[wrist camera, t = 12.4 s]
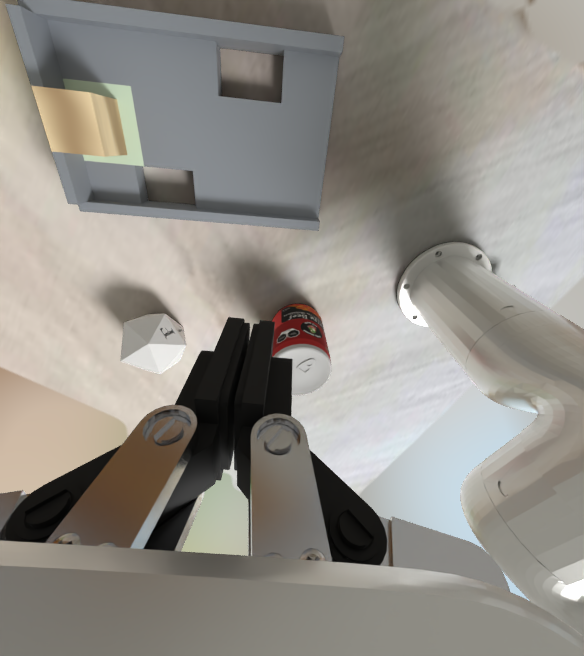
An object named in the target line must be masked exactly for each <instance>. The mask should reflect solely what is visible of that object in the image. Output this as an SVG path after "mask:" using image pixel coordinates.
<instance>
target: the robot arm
mask: <svg viewBox="0 0 584 656" xmlns="http://www.w3.org/2000/svg"><path fill="white" fill-rule="evenodd" d="M436 252H437V253H436ZM397 301H398V304H399V307H400V309H401V310H402V312H403V313H404V315H405V316H406V317H407V318H408V319H409V320H410V321H412V322H414V323H416V324H418V325H422V326H427V327H429V328H430V329H431V331H432V332H433V333H434V334H435V336H436V337H437V338H438V340H439V341H440V342H441V343H442V345H443V346H444V347H445V348H446V350H447V351H448V352H449V353H450V355H451V356H452V357H453V358H454V360H455V361H456V362H457V363H458V365H459V366H460V367H461V368H462V370H463V371H464V372H465V373H466V375H467V376H468V377H469V378H470V380H471V381H472V382H473V383H474V385H475V386H476V387H477V388H478V389H479V390H480V391H481V392H482V393H483V394H484V395H485V396H487V397H488V398H490V399H491V400H493V401H495V402H496V403H498V404H501V405H504V406H506V407H509V408H513V409H517V410H520V411H525V412H530V413H537V414H538V415H537V418H536V419H535V420H534V421H533V422H532V423H531V424H530V425H529V426H527V427H526V428H525V429H524V430H523V431H522V432H521V433H520V434H519V435H517V436H516V437H515V438H513V439H512V440H510V441H509V442H508V443H506V444H505V445H504V446H503V447H501V448H500V449H499V450H497V451H496V452H495V453H493V454H492V455H490V456H489V457H488V458H486V459H485V460H484V461H483V462H482V463H480V464H479V465H478V466H477V467H475V468H474V469H473V470H472V471H471V472H470V473H469V474H468V475H467V477H466V478H465V480H464V481H463V484H462V487H461V495H460V498H461V504H462V509H463V512H464V514H465V517H466V519H467V521H468V524H469V525H470V527H471V529H472V531H473V533H474V534H475V536H476V538H477V539H478V541H479V542H480V544H481V545H482V546H483V548H484V549H485V550H486V552H485V551H484V550H483V549H482V548H481V547H479V546H477V545H475V544H473V543H471V542H469V541H466V540H463V539H460V538H456V537H453V536H450V535H447V534H444V533H441V532H438V531H435V530H432V529H429V528H426V527H422V526H419V525H416V524H413V523H410V522H407V521H404V520H401V519H397V518H395V517H391V518H390V520H388V519H385V518H382V517H379V516H378V515H377V514H376V513H375V512H374V510H373V509H372V508H371V507H370V506H369V505H368V504H367V503H366V502H365V501H364V500H362V499H361V498H360V497H359V496H358V495H357V494H356V493H355V492H354V491H353V490H352V489H351V488H350V487H349V486H348V485H347V484H346V483H344V482H343V481H342V480H341V479H340V478H339V477H338V476H337V475H336V474H335V473H334V472H333V471H332V470H331V469H330V468H329V467H327V466H326V465H325V464H324V463H323V462H322V461H321V460H320V459H319V458H318V457H317V456H316V455H315V454H314V453H313V452H312V451H310V450H309V445H308V440H307V435H306V432H305V430H304V427H303V426H302V425H301V424H300V422H299V421H297V420H296V419H295V418H293V417H291V403H292V359H289V358H278V357H272V353H273V341H274V329H275V322H272V321H262V320H260V323H259V324H254V325H253V329H252V333H251V337H250V341H249V333H250V324H249V323H244V319H241V318H231V317H229V318H228V319H227V322H226V324H225V327H224V329H223V331H222V334H221V336H220V339H219V341H218V343H217V346H216V348H215V350H214V352H213V351H201V352H200V354H199V356H198V358H197V360H196V362H195V364H194V366H193V368H192V370H191V373H190V375H189V377H188V379H187V381H186V383H185V385H184V387H183V389H182V391H181V393H180V395H179V397H178V399H177V401H176V403H175V405H169V406H163V407H161V408H158V409H155V410H154V411H152V412H150V413H149V414H147V415H146V416H145V417H144V418H143V419H142V420H141V421H140V422H139V424H138V425H137V426H136V428H135V429H134V430H133V431H132V433H131V434H130V435H129V437H128V438H127V439H126V440H125V442H124V443H123V444H122V445H121V446H119V447H117V448H115V449H113V450H111V451H109V452H107V453H105V454H103V455H101V456H99V457H98V458H95V459H93V460H92V461H90V462H88V463H86V464H84V465H82V466H80V467H78V468H76V469H74V470H72V471H70V472H68V473H66V474H65V475H63V476H61V477H59V478H57V479H55V480H53V481H51V482H49V483H47V484H45V485H43V486H42V487H40V488H39V489H37V490H36V491H34V492H32V493H31V494H25V492H24V491H23V490H22V491H15V492H8V493H1V494H0V656H584V329H583V328H581V327H579V326H578V325H576V324H575V323H573V322H571V321H570V320H568V319H566V318H565V317H563V316H561V315H560V314H558V313H556V312H555V311H553V310H552V309H550V308H548V307H547V306H545V305H543V304H542V303H540V302H539V301H537V300H535V299H534V298H532V297H530V296H529V295H527V294H526V293H524V292H522V291H521V290H519V289H518V288H516V286H515V285H511V284H509V283H508V282H506V281H505V280H503V279H501V278H500V277H498V276H496V275H495V274H493V273H492V266H491V263H490V261H489V259H488V257H487V256H486V254H485V253H484V252H482V251H481V250H480V249H479V248H477V247H475V246H473V245H471V244H467V243H464V242H449V243H444V244H440V245H437V246H435V247H432V248H430V249H428V250H427V251H425V252H424V253H422V254H421V255H419V256H418V257H417V258H416V259H415V260H414V261H412V262H411V264H410V265H409V266H408V267H407V269H406V270H405V272H404V273H403V275H402V277H401V279H400V282H399V285H398V290H397ZM233 452H234V470H237V486H238V487H239V488H240V490H241V491H242V492H243V494H244V495H245V496H246V498H247V499H248V556H241V555H226V554H210V553H195V552H181V550H182V548H183V545H184V543H185V540H186V538H187V536H188V533H189V531H190V529H191V526H192V524H193V522H194V519H195V517H196V514H197V512H198V510H199V507H200V505H201V503H202V500H203V497H204V491H206V490H207V489H209V488H210V487H211V486H213V485H214V484H215V482H216V480H221V477H222V473H223V469H225V470H229V469H230V466H231V461H232V456H233ZM502 571H503V572H504V573H505V575H506V576H507V577H508V578H509V579H510V580H511V581H512V582H513V583H514V584H515V585H516V587H517V588H518V589H519V590H520V591H521V592H522V593H523V594H524V595H525V596H526V597H527V598H528V599H529V600H530V601H531V602H530V601H528V600H526V599H524V598H522V597H520V596H518V595H515V594H513V593H511V592H510V590H509V586H508V583H507V581H506V579H505V577H504V574H503V572H502Z"/></svg>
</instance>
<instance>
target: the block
mask: <svg viewBox="0 0 584 656" xmlns="http://www.w3.org/2000/svg"><path fill="white" fill-rule="evenodd" d="M31 87H32V90H33V93H34V96H35V99H36V103H37V106H38V109H39V112H40V116H41V119H42V122H43V125H44V128H45V132H46V135H47V138H48V141H49V144H50V148H51V151H52V152H62V153H72V154H82V155H92V156H102V157H108V156H121V155H127V150H126V144H125V139H124V134H123V129H122V123H121V118H120V113H119V107H118V102H117V99H113V98H109V97H105V96H102V95H98V94H94V93H90V92H82V91H74V90H65V89H56V88H47V87H39V86H31Z"/></svg>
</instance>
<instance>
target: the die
mask: <svg viewBox="0 0 584 656" xmlns="http://www.w3.org/2000/svg"><path fill="white" fill-rule="evenodd" d="M185 347H186V341H185V335H184V330H183V327H182V326H181V325H180V324H178V323H177V322H176V321H174V320H173V319H172V318H170V317H169V316H168V315H166V314H147V315H144V316H141V317H138V318H135V319H132V320H129V321H126V322H124V328H123V339H122V350H121V362H124V363H127V364H129V365H132V366H135V367H137V368H140V369H143V370H146V371H150V372H153V373H157V374H161V373H163V372H164V371H166V370H167V369H169V368H170V367H172V366H173V365H175V364H176V363H177V362H179V361H180V360H181V357H182V355H183V352H184V349H185Z"/></svg>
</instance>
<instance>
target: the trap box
mask: <svg viewBox="0 0 584 656" xmlns="http://www.w3.org/2000/svg"><path fill="white" fill-rule="evenodd" d="M17 1H18V4H19V5H11V4H6V8H7V11H8V14H9V17H10V20H11V23H12V27H13V30H14V33H15V36H16V39H17V43H18V46H19V49H20V52H21V55H22V58H23V62H24V65H25V68H26V71H27V74H28V78H29V81H30V84H31V86H39V87H47V88H56V89H65V90H74V91H82V92H90V93H94V94H98V95H102V96H105V97H109V98H113V99H117V102H118V107H119V113H120V118H121V123H122V129H123V134H124V139H125V144H126V150H127V155H121V156H108V157H102V156H92V155H82V154H72V153H62V152H52V154H53V157H54V160H55V163H56V167H57V170H58V173H59V176H60V179H61V182H62V186H63V189H64V192H65V195H66V198H67V202H68V204H77V205H78V206H79V209H80V211H83V212H95V213H107V214H120V215H132V216H144V217H156V218H168V219H180V220H193V221H205V222H217V223H229V224H241V225H253V226H265V227H278V228H290V229H302V230H314V231H319V223H320V221H319V219H318V217H319V209H320V202H321V194H322V186H323V179H324V171H325V163H326V156H327V148H328V140H329V133H330V125H331V118H332V110H333V102H334V95H335V87H336V79H337V72H338V64H339V57H340V55H341V54H342V51H343V44H344V36H337V35H330V34H322V33H314V32H307V31H299V30H292V29H284V28H277V27H269V26H261V25H254V24H246V23H239V22H231V21H224V20H216V19H208V18H201V17H193V16H186V15H178V14H171V13H163V12H155V11H148V10H140V9H133V8H125V7H118V6H110V5H102V4H95V3H87V2H80V1H72V0H17ZM220 48H225V49H233V50H241V51H249V52H257V53H265V54H273V55H281V56H284V63H283V82H282V101H281V103H275V102H266V101H257V100H249V99H240V98H231V97H222V87H221V60H220ZM34 97H35V96H34ZM35 100H36V99H35ZM39 113H40V112H39ZM143 166H147V167H157V168H168V169H178V170H189V171H193V179H194V190H195V201H196V205H192V204H181V203H169V202H158V201H148V195H147V189H146V183H145V177H144V172H143Z"/></svg>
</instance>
